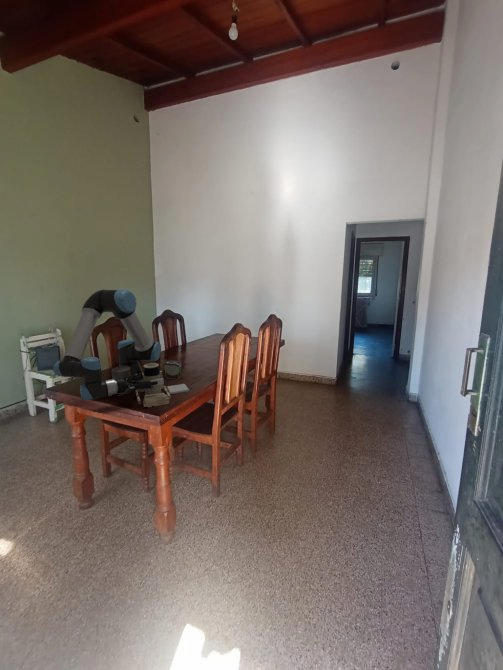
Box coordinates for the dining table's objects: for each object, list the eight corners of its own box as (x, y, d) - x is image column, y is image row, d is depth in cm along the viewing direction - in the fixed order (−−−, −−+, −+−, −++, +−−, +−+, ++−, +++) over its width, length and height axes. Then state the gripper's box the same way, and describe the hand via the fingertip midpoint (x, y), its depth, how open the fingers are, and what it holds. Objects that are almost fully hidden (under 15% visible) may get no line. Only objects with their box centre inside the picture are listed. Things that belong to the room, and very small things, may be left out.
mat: (167, 388, 191) (167, 386, 191) (184, 385, 195) (184, 383, 195) (170, 394, 182) (170, 392, 182) (188, 391, 186) (188, 389, 186)
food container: (186, 377, 209) (185, 361, 207) (180, 380, 204) (179, 364, 202) (170, 374, 214) (169, 359, 212) (164, 377, 209) (162, 362, 207)
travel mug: (151, 394, 181) (148, 362, 178) (164, 396, 179) (162, 363, 175) (142, 400, 174) (139, 366, 170) (156, 401, 172) (153, 367, 168)
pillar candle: (130, 388, 192) (127, 362, 189) (134, 393, 184) (132, 366, 181) (112, 391, 187) (109, 365, 184) (116, 397, 179) (112, 370, 176)
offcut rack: (135, 391, 186) (133, 374, 184) (164, 387, 192) (163, 370, 190) (140, 409, 163) (138, 389, 161) (173, 403, 169) (172, 384, 167)
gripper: (111, 386, 175) (152, 378, 187) (122, 401, 156) (167, 391, 167) (109, 372, 174) (151, 365, 185) (120, 385, 154) (166, 376, 166)
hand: (159, 377), depth 176 cm, fingers open, 12 cm apart
